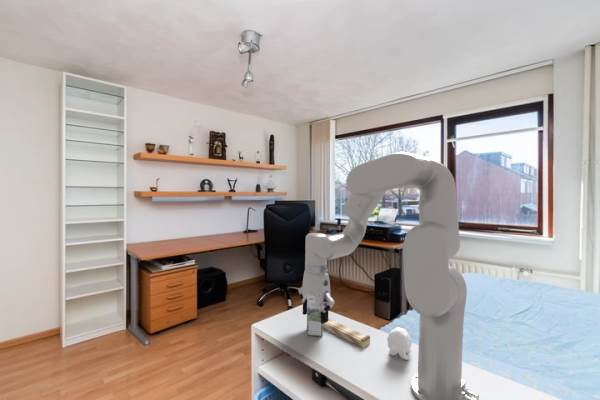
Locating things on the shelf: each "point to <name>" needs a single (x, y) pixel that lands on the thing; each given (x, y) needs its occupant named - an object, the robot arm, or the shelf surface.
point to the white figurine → (399, 342)
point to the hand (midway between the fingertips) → (315, 317)
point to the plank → (347, 333)
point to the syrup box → (313, 317)
